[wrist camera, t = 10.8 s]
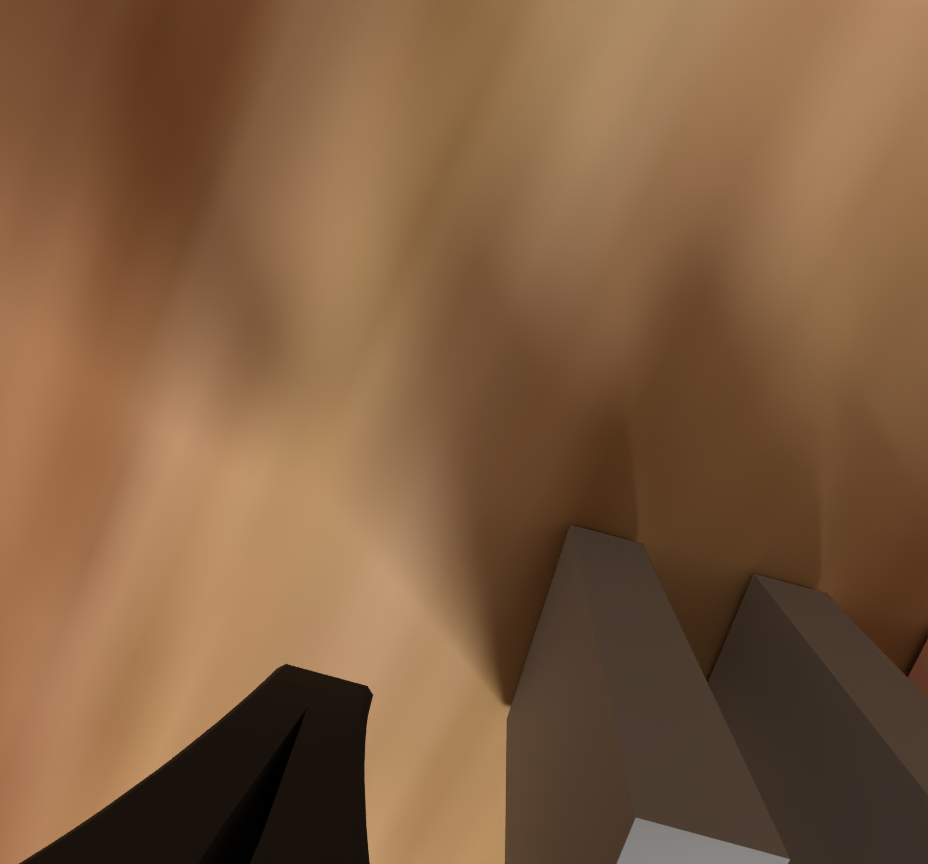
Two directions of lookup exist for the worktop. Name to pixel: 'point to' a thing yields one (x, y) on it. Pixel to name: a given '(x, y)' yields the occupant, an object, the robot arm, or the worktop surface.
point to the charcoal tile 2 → (825, 729)
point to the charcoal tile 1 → (623, 730)
